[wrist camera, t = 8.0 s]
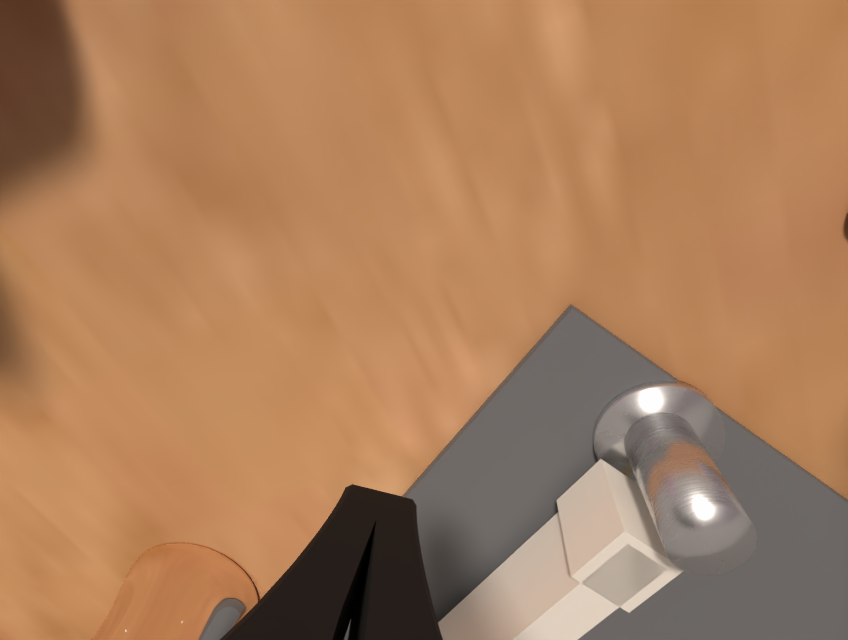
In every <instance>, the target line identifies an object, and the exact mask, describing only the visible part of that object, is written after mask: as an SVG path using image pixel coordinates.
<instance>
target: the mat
mask: <svg viewBox="0 0 848 640" xmlns="http://www.w3.org/2000/svg"><path fill="white" fill-rule="evenodd" d="M676 380H677V379H676V378H674V377H673V376H671V375H670V374H669V373H667V372H666V371H664V370H663V369H662V368H660V367H659V366H657V365H656V364H654V363H653V362H652V361H650V360H649V359H647V358H646V357H645V356H643V355H642V354H640V353H639V352H638V351H636V350H635V349H633V348H632V347H630V346H629V345H628V344H626V343H625V342H623V341H622V340H621V339H619V338H618V337H616V336H615V335H613V334H612V333H611V332H609V331H608V330H606V329H605V328H604V327H602V326H601V325H599V324H598V323H596V322H595V321H594V320H592V319H591V318H589V317H588V316H587V315H585V314H584V313H582V312H581V311H580V310H578V309H577V308H575V307H574V306H572V305H570V306H569V307H568V308H567V309H566V310H565V311H564V313H563V314H562V315H561V316H560V317H559V318H558V319H557V321H556V322H555V323H554V324H553V325H552V326H551V327H550V329H549V330H548V331H547V332H546V333H545V334H544V335H543V337H542V338H541V339H540V340H539V341H538V342H537V343H536V344H535V346H534V347H533V348H532V349H531V350H530V351H529V352H528V354H527V355H526V356H525V357H524V358H523V359H522V360H521V362H520V363H519V364H518V365H517V366H516V367H515V368H514V370H513V371H512V372H511V373H510V374H509V375H508V376H507V378H506V379H505V380H504V381H503V382H502V383H501V384H500V386H499V387H498V388H497V389H496V390H495V391H494V392H493V394H492V395H491V396H490V397H489V398H488V399H487V400H486V402H485V403H484V404H483V405H482V406H481V407H480V408H479V409H478V411H477V412H476V413H475V414H474V415H473V416H472V417H471V419H470V420H469V421H468V422H467V423H466V424H465V425H464V427H463V428H462V429H461V430H460V431H459V432H458V433H457V435H456V436H455V437H454V438H453V439H452V440H451V441H450V443H449V444H448V445H447V446H446V447H445V448H444V449H443V451H442V452H441V453H440V454H439V455H438V456H437V457H436V459H435V460H434V461H433V462H432V463H431V464H430V465H429V467H428V468H427V469H426V470H425V471H424V472H423V473H422V475H421V476H420V477H419V478H418V479H417V480H416V481H415V482H414V484H413V485H412V486H411V487H410V488H409V489H408V490H407V492H406V493H405V494H404V495H403V496H402V497H406V498H410V499H413V501H414V502H415V504H416V505H417V525H418V534H419V541H420V547H421V553H422V559H423V564H424V569H425V574H426V578H427V582H428V587H429V591H430V595H431V599H432V603H433V607H434V611H435V615H436V618H437V622H439V621H440V620H442V619H443V618H444V617H445V616H446V615H447V614H448V613H449V612H450V611H451V610H452V609H453V608H455V607H456V606H457V605H458V604H459V603H460V602H461V601H462V600H463V599H464V598H465V597H466V596H468V595H469V594H470V593H471V592H472V591H473V590H474V589H475V588H476V587H477V586H478V585H479V584H481V583H482V582H483V581H484V580H485V579H486V578H487V577H488V576H489V575H490V574H491V573H492V572H494V571H495V570H496V569H497V568H498V567H499V566H500V565H501V564H502V563H503V562H504V561H505V560H507V559H508V558H509V557H510V556H511V555H512V554H513V553H514V552H515V551H516V550H517V549H518V548H520V547H521V546H522V545H523V544H524V543H525V542H526V541H527V540H528V539H529V538H530V537H531V536H533V535H534V534H535V533H536V532H537V531H538V530H539V529H540V528H541V527H542V526H543V525H545V524H546V523H547V522H548V521H549V520H550V519H551V518H552V517H553V516H554V515H555V514H556V513H558V512H559V511H558V506H557V501H556V500H557V499H558V498H559V497H561V496H562V495H563V494H564V493H565V492H566V491H567V490H568V489H569V488H570V487H571V486H572V485H573V484H574V483H576V482H577V481H578V480H579V479H580V478H581V477H582V476H583V475H584V474H585V473H586V472H587V471H588V470H589V469H590V468H592V467H593V466H594V465H595V464H596V463H597V462H598V459H597V456H596V453H595V450H594V446H593V430H594V426H595V423H596V420H597V418H598V416H599V414H600V413H601V411H602V410H603V408H604V407H605V406H606V405H607V404H608V403H609V402H610V401H611V400H612V399H613V398H615V397H616V396H617V395H619V394H620V393H622V392H624V391H626V390H627V389H629V388H632V387H634V386H637V385H640V384H644V383H649V382H657V381H669V382H676V383H677V381H676ZM716 409H717V410H718V412H719V413H720V415H721V417H722V419H723V422H724V426H725V434H726V436H725V444H724V447H723V450H722V453H721V455H720V457H719V458H718V460H717V462H716V463H715V464H716V466H717V468H718V469H719V471H720V472H721V474H722V476H723V477H724V479H725V480H726V482H727V484H728V485H729V487H730V488H731V490H732V491H733V493H734V495H735V496H736V498H737V499H738V501H739V503H740V504H741V506H742V507H743V509H744V511H745V512H746V514H747V515H748V517H749V519H750V520H751V522H752V523H753V525H754V527H755V529H756V532H757V545H756V548H755V550H754V552H753V554H752V555H751V556H750V558H749V559H748V560H747V561H746V562H744V563H743V564H742V565H740V566H739V567H737V568H735V569H733V570H731V571H728V572H725V573H722V574H717V575H696V574H692V573H688V572H686V571H683V572H682V573H680V574H679V575H678V576H676V577H675V578H674V579H673V580H671V581H670V582H669V583H667V584H666V585H665V586H663V587H662V588H661V589H659V590H658V591H657V592H656V593H654V594H653V595H652V596H650V597H649V598H648V599H646V600H645V601H644V602H643V603H641V604H640V605H639V606H637V607H636V608H635V609H633V610H632V611H631V612H630V613H628V612H627V611H625V610H623V609H622V608H620V607H619V608H618V609H616V610H615V611H614V612H612V613H611V614H610V615H609V616H607V617H606V618H605V619H603V620H602V621H601V622H600V623H598V624H597V625H596V626H595V627H593V628H592V629H591V630H589V631H588V632H587V633H586V634H584V635H583V636H582V637H580V638H579V639H578V640H848V500H847V499H845V498H844V497H843V496H841V495H840V494H838V493H837V492H836V491H834V490H833V489H831V488H830V487H828V486H827V485H826V484H824V483H823V482H821V481H820V480H819V479H817V478H816V477H814V476H813V475H812V474H810V473H809V472H807V471H806V470H804V469H803V468H802V467H800V466H799V465H797V464H796V463H795V462H793V461H792V460H790V459H789V458H787V457H786V456H785V455H783V454H782V453H780V452H779V451H778V450H776V449H775V448H773V447H772V446H770V445H769V444H768V443H766V442H765V441H763V440H762V439H761V438H759V437H758V436H756V435H755V434H754V433H752V432H751V431H749V430H748V429H746V428H745V427H744V426H742V425H741V424H739V423H738V422H737V421H735V420H734V419H732V418H731V417H729V416H728V415H727V414H725V413H724V412H722V411H721V410H720V409H718V408H717V407H716ZM350 621H351V620H350ZM349 628H350V623H349V626H348V629H347V632H346V635H345V638H344V640H348V635H349Z"/></svg>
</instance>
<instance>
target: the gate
mask: <svg viewBox="0 0 848 640" xmlns="http://www.w3.org/2000/svg"><path fill="white" fill-rule="evenodd" d="M556 501H557V506H558V511H559V512H558V513H556V514H555V515H554V516H553V517H552V518H551V519H550V520H549V521H548V522H547V523H546V524H545V525H543V526H542V527H541V528H540V529H539V530H538V531H537V532H536V533H535V534H534V535H533V536H531V537H530V538H529V539H528V540H527V541H526V542H525V543H524V544H523V545H522V546H521V547H520V548H518V549H517V550H516V551H515V552H514V553H513V554H512V555H511V556H510V557H509V558H508V559H507V560H505V561H504V562H503V563H502V564H501V565H500V566H499V567H498V568H497V569H496V570H495V571H494V572H492V573H491V574H490V575H489V576H488V577H487V578H486V579H485V580H484V581H483V582H482V583H481V584H479V585H478V586H477V587H476V588H475V589H474V590H473V591H472V592H471V593H470V594H469V595H468V596H466V597H465V598H464V599H463V600H462V601H461V602H460V603H459V604H458V605H457V606H456V607H455V608H453V609H452V610H451V611H450V612H449V613H448V614H447V615H446V616H445V617H444V618H443V619H442V620H440V621H439V622H438V625H439V629H440V632H441V635H442V639H443V640H578V639H579V638H580V637H582V636H583V635H584V634H586V633H587V632H588V631H589V630H591V629H592V628H593V627H595V626H596V625H597V624H598V623H600V622H601V621H602V620H603V619H605V618H606V617H607V616H609V615H610V614H611V613H612V612H614V611H615V610H616V609H618V608H619V607H620V608H622V609H623V610H625V611H627V612H628V613H630V612H631V611H632V610H633V609H635V608H636V607H637V606H639V605H640V604H641V603H643V602H644V601H645V600H646V599H648V598H649V597H650V596H652V595H653V594H654V593H656V592H657V591H658V590H659V589H661V588H662V587H663V586H665V585H666V584H667V583H669V582H670V581H671V580H673V579H674V578H675V577H676V576H678V575H679V574H680V573H682V572H683V570H681V569H680V568H678V567H677V566H675V565H674V564H673V563H672V562H671V561H670V559H669V558H668V556H667V554H666V551H665V549H664V547H663V544H662V542H661V539H660V537H659V534H658V532H657V529H656V527H655V524H654V522H653V519H652V517H651V514H650V512H649V509H648V507H647V504H646V502H645V499H644V497H643V495H642V492H641V490H640V487H639V485H638V484H637V483H636V482H634V481H633V480H631V479H630V478H629V477H627V476H626V475H624V474H623V473H621V472H620V471H618V470H617V469H615V468H614V467H612V466H611V465H609V464H608V463H606V462H605V461H603V460H602V459H600V460H599V461H598V462H597V463H596V464H595V465H594V466H593V467H592V468H590V469H589V470H588V471H587V472H586V473H585V474H584V475H583V476H582V477H581V478H580V479H579V480H578V481H577V482H576V483H574V484H573V485H572V486H571V487H570V488H569V489H568V490H567V491H566V492H565V493H564V494H563V495H562V496H561V497H559V498H558V499H557V500H556Z"/></svg>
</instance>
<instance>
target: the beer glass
mask: <svg viewBox="0 0 848 640" xmlns="http://www.w3.org/2000/svg"><path fill="white" fill-rule="evenodd" d="M257 603H258V596H257V592H256V589H255V587H254V585H253V583H252V581H251V580H250V578H249V577H248V575H247V574H246V573H245V572H244V571H243V570H242V569H241V568H240V567H239V566H238V565H237V564H236V563H235V562H233V561H232V560H231V559H229V558H228V557H226V556H224V555H223V554H221V553H219V552H217V551H214V550H212V549H209V548H206V547H203V546H199V545H195V544H189V543H169V544H163V545H160V546H156V547H154V548H152V549H150V550H148V551H146V552H145V553H143V554H142V555H141V556H140V557H139V558H138V559H137V560H136V561H135V562H134V564H133V565H132V567H131V568H130V570H129V572H128V574H127V576H126V578H125V580H124V582H123V584H122V586H121V589H120V591H119V593H118V595H117V597H116V599H115V602H114V604H113V606H112V608H111V610H110V611H109V613H108V615H107V617H106V619H105V620H104V622H103V624H102V625H101V627H100V628H99V630H98V631H97V633H96V634H95V636H94V637H93V638H92V640H220V639H221V638H222V637H223V636H224V635H225V634H226V633H227V632H228V631H229V630H230V629H231V628H233V627H234V626H235V625H236V624H237V623H238V622H239V621H240V620H241V619H242V618H243V617H244V616H245V615H246V614H247V613H248V612H249V611H250V610H251V609H252V608H253V607H254V606H255V605H256V604H257Z"/></svg>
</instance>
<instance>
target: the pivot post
mask: <svg viewBox="0 0 848 640" xmlns="http://www.w3.org/2000/svg"><path fill="white" fill-rule="evenodd" d="M676 381H677V383H676V382H669V381H657V382H649V383H644V384H640V385H637V386H634V387H632V388H629V389H627V390H626V391H624V392H622V393H620V394H619V395H617V396H616V397H615V398H613V399H612V400H611V401H610V402H609V403H608V404H607V405H606V406H605V407H604V408H603V410H602V411H601V413H600V414H599V416H598V418H597V420H596V423H595V426H594V430H593V446H594V450H595V453H596V456H597V459H598V461H599V460H600V459H602V460H603V461H605V462H606V463H608V464H609V465H611V466H612V467H614V468H615V469H617V470H618V471H620V472H621V473H623V474H624V475H626V476H627V477H629V478H630V479H631V480H633V481H634V482H636V483H637V484H638V485H639V487H640V490H641V492H642V495H643V497H644V499H645V502H646V504H647V507H648V509H649V512H650V514H651V517H652V519H653V522H654V524H655V527H656V529H657V532H658V534H659V537H660V539H661V542H662V544H663V547H664V549H665V551H666V554H667V556H668V558H669V559H670V561H671V562H672V563H673V564H674V565H675V566H677V567H678V568H680V569H681V570H683V571H686V572H688V573H692V574H696V575H717V574H722V573H725V572H728V571H731V570H733V569H735V568H737V567H739V566H740V565H742V564H743V563H744V562H746V561H747V560H748V559H749V558H750V556H751V555H752V554H753V552H754V550H755V548H756V545H757V532H756V529H755V527H754V525H753V523H752V522H751V520H750V519H749V517H748V515H747V514H746V512H745V511H744V509H743V507H742V506H741V504H740V503H739V501H738V499H737V498H736V496H735V495H734V493H733V491H732V490H731V488H730V487H729V485H728V484H727V482H726V480H725V479H724V477H723V476H722V474H721V472H720V471H719V469H718V468H717V466H716V464H715V463H716V462H717V460H718V458H719V457H720V455H721V453H722V450H723V447H724V444H725V436H726V434H725V426H724V422H723V419H722V417H721V415H720V413H719V412H718V410H717V409H716V407H715V406H714V405H713V403H712V402H711V400H710V399H709V398H708V397H707V396H706V395H705V394H704V393H703V392H702V391H700V390H699V389H697V388H696V387H694V386H692V385H690V384H688V383H686V382H682V381H679V380H676Z"/></svg>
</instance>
